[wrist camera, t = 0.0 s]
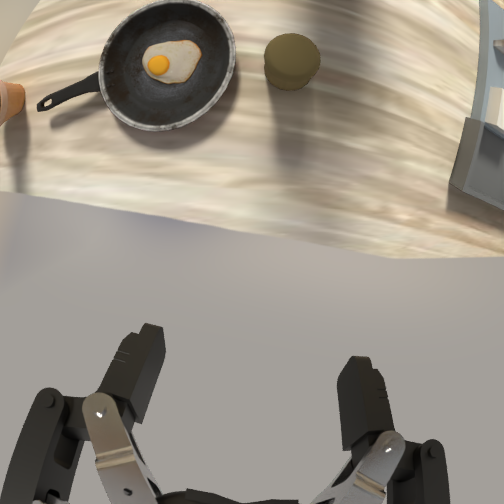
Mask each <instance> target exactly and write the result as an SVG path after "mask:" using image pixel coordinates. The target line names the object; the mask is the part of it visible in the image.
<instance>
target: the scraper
mask: <svg viewBox="0 0 504 504" xmlns="http://www.w3.org/2000/svg"><path fill="white" fill-rule="evenodd" d="M493 47H495V48H496V49H497V50H499V51H500V52H501V53H502V54H503V55H504V40H493Z"/></svg>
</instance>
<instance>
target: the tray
mask: <svg viewBox="0 0 504 504" xmlns="http://www.w3.org/2000/svg"><path fill="white" fill-rule="evenodd" d="M484 125H485V123H484V122H482V121H480V120H476V119H472V118H468V117H466V119H465V124H464V128H463V133H462V137H461V141H460V145H459V149H458V153H457V157H456V160H455V164H454V167H453V170H452V174H451V177H450V180H449V183H451V184H452V185H454V186H455V187H457V188H458V189H460V190H461V191H463V192H465V193H467V194H470V195H472V196H474V197H476V198H479V199H481V200H483V201H485V202H487V203H489V204H492V205H494V206H496V207H498V208H500V209H502V210H504V140H503V139H501V138H500V137H498V136H497V135H495V134H494V133H492V132H491V131H489V130H488V129H486V128H485V127H484Z"/></svg>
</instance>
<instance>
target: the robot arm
mask: <svg viewBox="0 0 504 504" xmlns="http://www.w3.org/2000/svg"><path fill="white" fill-rule="evenodd" d="M165 353H166V348H165V340H164V332H163V328H162V327H160V326H156V325H151V324H148V323H145V324H144V325H143V327H142V329H141V331H140V333H139V334H137V333H133V332H131V333H130V334H129V335H128V336H127V337H126V338H124V339H123V340H122V342H121V344H120V346H119V348H118V351H117V352H116V354H115V356H114V359H113V360H112V362H111V364H110V366H109V368H108V370H107V372H106V374H105V376H104V378H103V381H102V383H101V385H100V387H99V388H98V390H97V391H96V392H95V393H93V394H91V395H89V396H88V397H69V396H62V394H61V393H60V392H59V391H58V390H56V389H54V388H44V389H42V390H41V391H40V392H39V393H38V394H37V396H36V398H35V400H34V402H33V404H32V406H31V409H30V411H29V413H28V416H27V418H26V420H25V423H24V425H23V428H22V431H21V433H20V436H19V438H18V441H17V444H16V447H15V450H14V452H13V456H12V458H11V461H10V464H9V468H8V471H7V474H6V478H5V482H4V485H3V490H2V493H1V498H0V504H70V503H68V499H69V495H70V491H71V487H72V483H73V479H74V476H75V471H76V468H77V465H78V461H79V458H80V454H81V451H82V448H83V444H84V441H91V442H92V445H93V448H94V451H95V454H96V460H95V464H96V468H97V471H98V474H99V476H100V479H101V481H102V484H103V486H104V488H105V491H106V493H107V495H108V498H109V500H110V502H111V504H299V503H298V500H276V499H271V500H266V501H259V502H251V503H239V502H236V501H233V500H231V499H228V498H225V497H222V496H219V495H217V494H214V493H208V492H203V491H197V490H193V489H188V488H187V490H186V491H179V492H171V493H167V494H164V495H163V493H162V491H161V489H160V487H159V486H158V484H157V482H156V480H155V478H154V477H153V475H152V473H151V471H150V470H149V468H148V466H147V464H146V462H145V460H144V458H143V456H142V454H141V451H140V449H139V447H138V445H137V442H136V440H135V438H134V435H133V433H132V428H133V425H134V422H137V423H140V424H142V422H143V419H144V416H145V413H146V410H147V407H148V404H149V401H150V398H151V396H152V392H153V390H154V387H155V384H156V382H157V379H158V376H159V373H160V370H161V368H162V365H163V362H164V358H165ZM337 392H338V401H339V411H340V421H341V432H342V445H343V451H350V450H351V453H352V456H351V457H350V458H349V459H348V461H347V462H346V463H345V465H344V466H343V467H342V469H341V470H340V472H339V473H338V474H337V476H336V477H335V478H334V479H333V481H332V482H331V483H330V484H329V486H328V487H327V488H326V489H325V490H324V491H323V492H321V493H320V494H319V495H318V496H317V497H316V498H315V499H314V500H313V501H312V502H311V503H310V504H381V503H382V502H383V500H384V498H385V495H386V493H385V492H384V488H385V486H386V485H387V504H450V494H449V483H448V473H447V465H446V458H445V452H444V448H443V446H442V444H441V443H440V442H439V441H437V440H434V439H430V440H428V441H426V442H425V443H423V444H420V443H415V442H410V441H406V440H404V438H403V437H402V436H401V435H400V434H399V433H398V432H396V431H395V428H394V425H393V419H392V414H391V409H390V404H389V400H388V398H387V397H388V395H387V391H386V387H385V382H384V378H383V377H382V375H381V374H380V372H379V371H378V369H373V368H372V364H371V360H370V358H369V357H363V356H362V357H361V356H352V357H351V358H350V359H349V361H348V362H347V364H346V365H345V367H344V368H343V370H342V372H341V373H340V375H339V377H338V381H337Z"/></svg>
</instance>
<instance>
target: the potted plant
mask: <svg viewBox="0 0 504 504" xmlns="http://www.w3.org/2000/svg"><path fill="white" fill-rule="evenodd" d="M24 101H25V91H24V88H23V86H22V85H20V84H12V83H7V82H3V81H2V80H0V126H1V125H2V124H3V123H4V122H5V121H7V120H8V119H9V118H11V117H13V116H14V115H17V114H18V113H19V112H20V111H21V110H22V108H23V104H24Z"/></svg>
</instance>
